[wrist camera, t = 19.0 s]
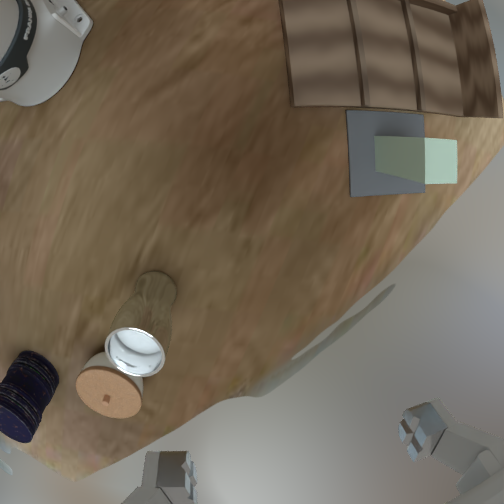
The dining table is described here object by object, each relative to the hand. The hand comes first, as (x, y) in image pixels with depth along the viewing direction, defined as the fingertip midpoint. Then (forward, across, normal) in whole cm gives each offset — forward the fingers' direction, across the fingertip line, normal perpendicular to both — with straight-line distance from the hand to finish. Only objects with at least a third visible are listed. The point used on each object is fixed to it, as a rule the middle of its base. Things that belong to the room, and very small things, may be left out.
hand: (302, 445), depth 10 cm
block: (+34, -22, -7) cm, 41 cm away
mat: (+34, -22, -8) cm, 41 cm away
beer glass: (+34, +13, +9) cm, 38 cm away
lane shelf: (+34, -22, -24) cm, 47 cm away
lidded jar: (+34, +23, +22) cm, 47 cm away
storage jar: (+34, +41, +24) cm, 59 cm away
